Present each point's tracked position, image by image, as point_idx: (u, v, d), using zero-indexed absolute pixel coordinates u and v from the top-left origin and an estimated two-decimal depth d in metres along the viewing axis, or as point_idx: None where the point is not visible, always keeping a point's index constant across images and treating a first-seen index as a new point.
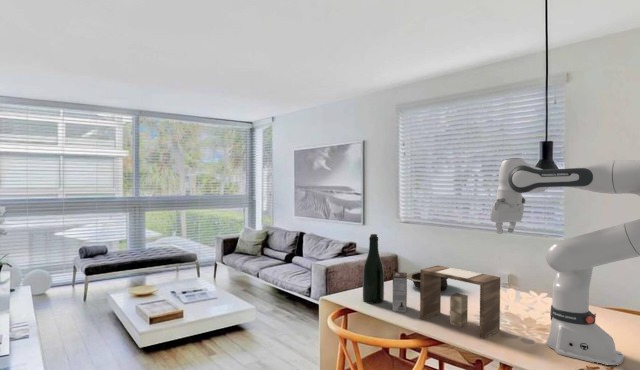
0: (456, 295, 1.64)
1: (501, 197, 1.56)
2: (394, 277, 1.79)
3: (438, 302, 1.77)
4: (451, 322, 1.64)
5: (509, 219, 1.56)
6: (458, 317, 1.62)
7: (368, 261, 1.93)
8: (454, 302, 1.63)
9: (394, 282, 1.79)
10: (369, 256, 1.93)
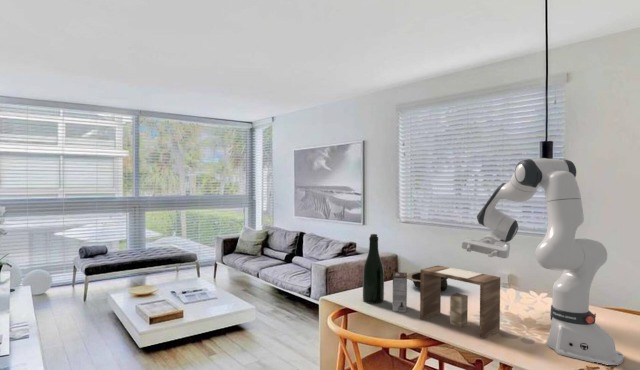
0: (456, 295, 1.64)
1: None
2: (394, 277, 1.79)
3: (438, 302, 1.77)
4: (451, 322, 1.64)
5: (480, 244, 1.79)
6: (458, 317, 1.62)
7: (368, 261, 1.93)
8: (454, 302, 1.63)
9: (394, 282, 1.79)
10: (369, 256, 1.93)
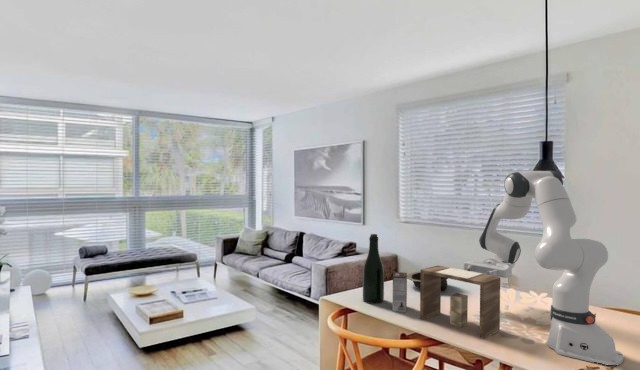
0: (456, 295, 1.64)
1: None
2: (394, 277, 1.79)
3: (438, 302, 1.77)
4: (451, 322, 1.64)
5: (481, 265, 1.80)
6: (458, 317, 1.62)
7: (368, 261, 1.93)
8: (454, 302, 1.63)
9: (394, 282, 1.79)
10: (369, 256, 1.93)
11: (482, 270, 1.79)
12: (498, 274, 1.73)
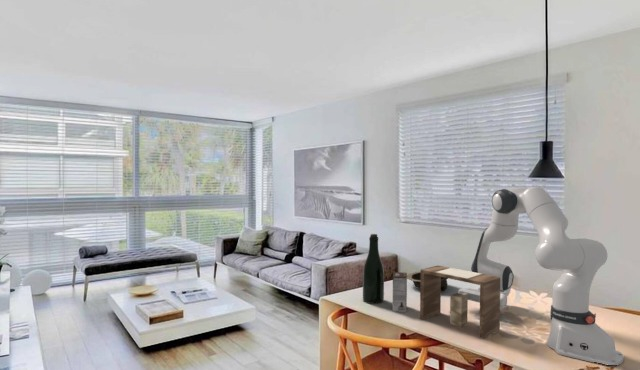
0: (456, 295, 1.64)
1: None
2: (394, 277, 1.79)
3: (438, 302, 1.77)
4: (451, 322, 1.64)
5: (476, 293, 1.77)
6: (458, 317, 1.62)
7: (368, 261, 1.93)
8: (454, 302, 1.63)
9: (394, 282, 1.79)
10: (369, 256, 1.93)
11: (477, 299, 1.77)
12: None
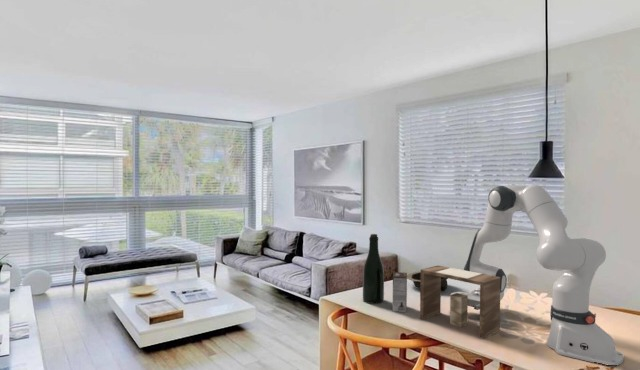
0: (456, 295, 1.64)
1: None
2: (394, 277, 1.79)
3: (438, 302, 1.77)
4: (451, 322, 1.64)
5: (468, 297, 1.72)
6: (458, 317, 1.62)
7: (368, 261, 1.93)
8: (454, 302, 1.63)
9: (394, 282, 1.79)
10: (369, 256, 1.93)
11: (469, 303, 1.72)
12: None
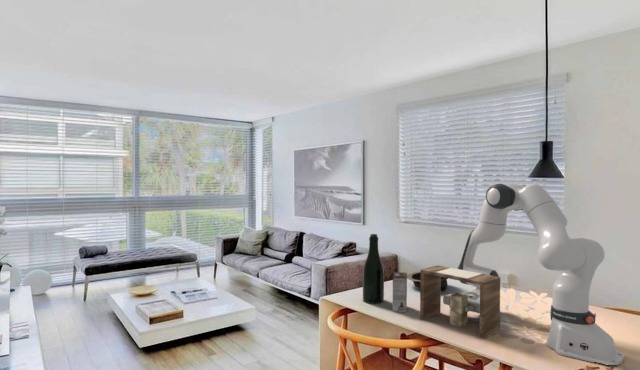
0: (456, 295, 1.64)
1: None
2: (394, 277, 1.79)
3: (438, 302, 1.77)
4: (451, 322, 1.64)
5: None
6: (458, 317, 1.62)
7: (368, 261, 1.93)
8: (454, 302, 1.63)
9: (394, 282, 1.79)
10: (369, 256, 1.93)
11: None
12: (479, 311, 1.62)
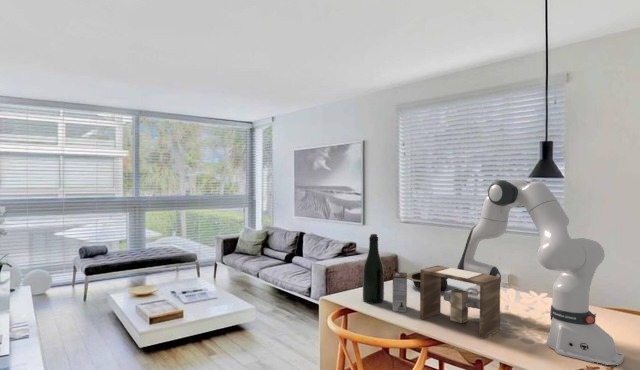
0: (456, 291, 1.64)
1: None
2: (394, 277, 1.79)
3: (438, 302, 1.77)
4: (451, 318, 1.64)
5: None
6: (458, 313, 1.62)
7: (368, 261, 1.93)
8: (454, 298, 1.63)
9: (394, 282, 1.79)
10: (369, 256, 1.93)
11: None
12: (479, 306, 1.61)
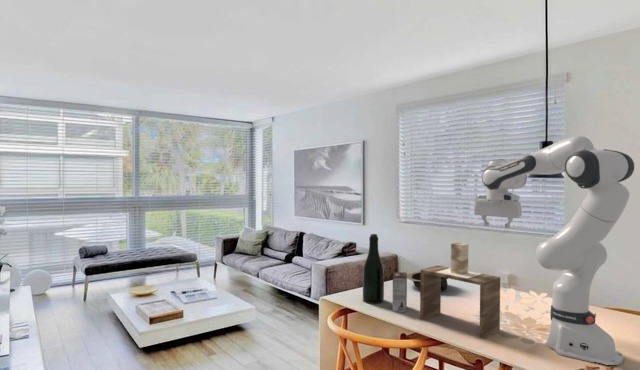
0: (457, 243, 1.64)
1: None
2: (394, 277, 1.79)
3: (438, 302, 1.77)
4: (452, 271, 1.64)
5: (492, 213, 1.77)
6: (459, 265, 1.61)
7: (368, 261, 1.93)
8: (455, 250, 1.63)
9: (394, 282, 1.79)
10: (369, 256, 1.93)
11: None
12: (513, 217, 1.73)
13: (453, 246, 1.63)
